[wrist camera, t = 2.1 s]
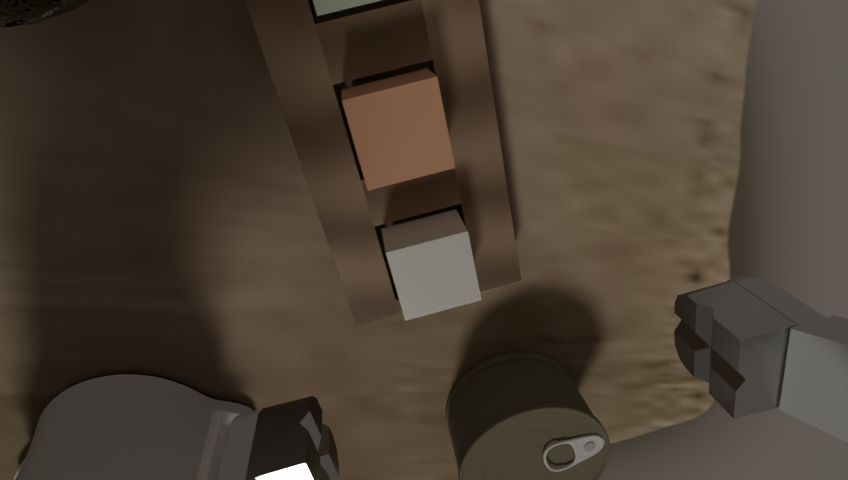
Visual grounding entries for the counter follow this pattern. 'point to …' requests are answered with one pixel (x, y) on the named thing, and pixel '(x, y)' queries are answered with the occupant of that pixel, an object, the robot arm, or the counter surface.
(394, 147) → the terracotta button
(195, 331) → the counter surface
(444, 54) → the walnut button board
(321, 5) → the sage button
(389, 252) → the grey button
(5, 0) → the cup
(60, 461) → the robot arm
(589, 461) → the can
